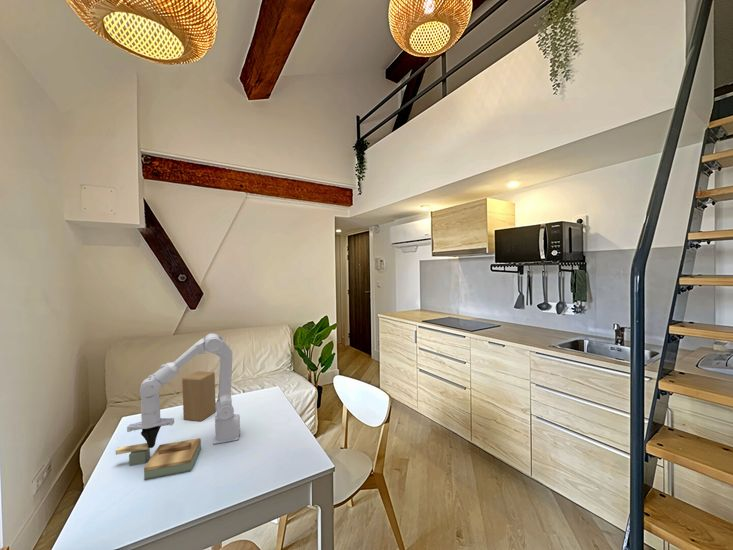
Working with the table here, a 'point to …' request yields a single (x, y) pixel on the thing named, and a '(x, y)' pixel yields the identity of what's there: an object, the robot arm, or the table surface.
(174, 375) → the robot arm
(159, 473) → the green piece
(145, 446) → the light wooden bar
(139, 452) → the block
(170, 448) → the lid
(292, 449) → the table surface
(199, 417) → the wooden block
